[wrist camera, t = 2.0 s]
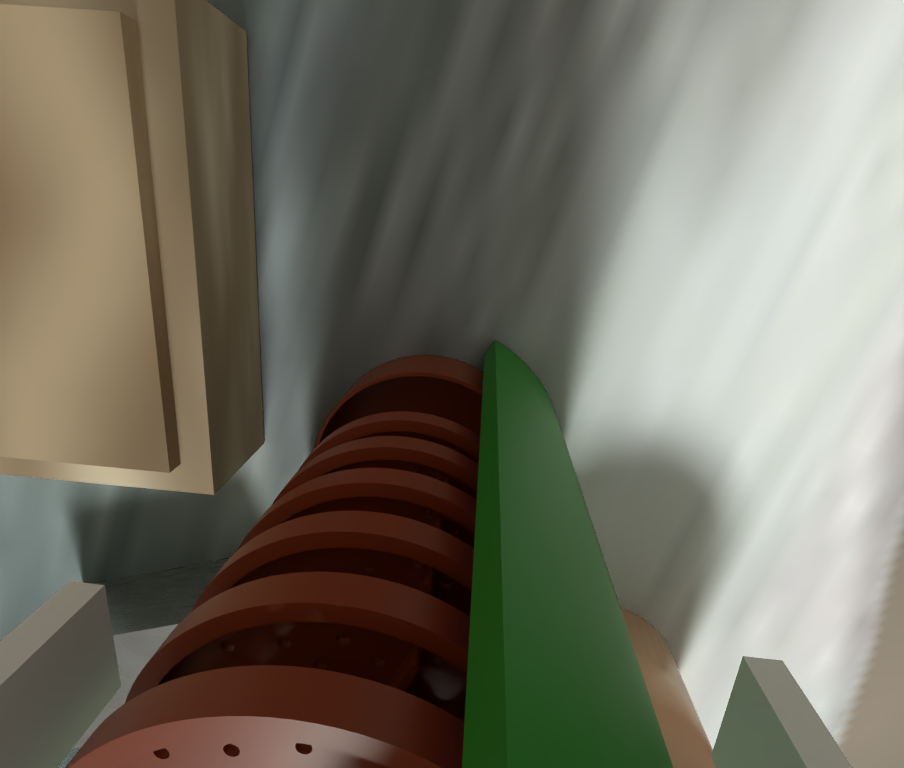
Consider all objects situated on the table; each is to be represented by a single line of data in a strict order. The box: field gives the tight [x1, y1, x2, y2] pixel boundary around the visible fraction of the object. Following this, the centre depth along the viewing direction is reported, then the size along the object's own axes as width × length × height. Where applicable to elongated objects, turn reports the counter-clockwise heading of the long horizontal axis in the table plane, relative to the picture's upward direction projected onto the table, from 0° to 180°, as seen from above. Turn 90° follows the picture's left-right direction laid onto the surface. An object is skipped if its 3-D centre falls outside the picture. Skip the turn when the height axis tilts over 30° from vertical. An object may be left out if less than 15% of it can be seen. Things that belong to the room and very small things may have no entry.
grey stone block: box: [72, 558, 229, 749], centre depth 22 cm, size 8×5×4 cm, turn 104°
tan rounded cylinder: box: [621, 608, 716, 768], centre depth 20 cm, size 8×8×7 cm
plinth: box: [0, 0, 264, 495], centre depth 16 cm, size 14×14×5 cm
